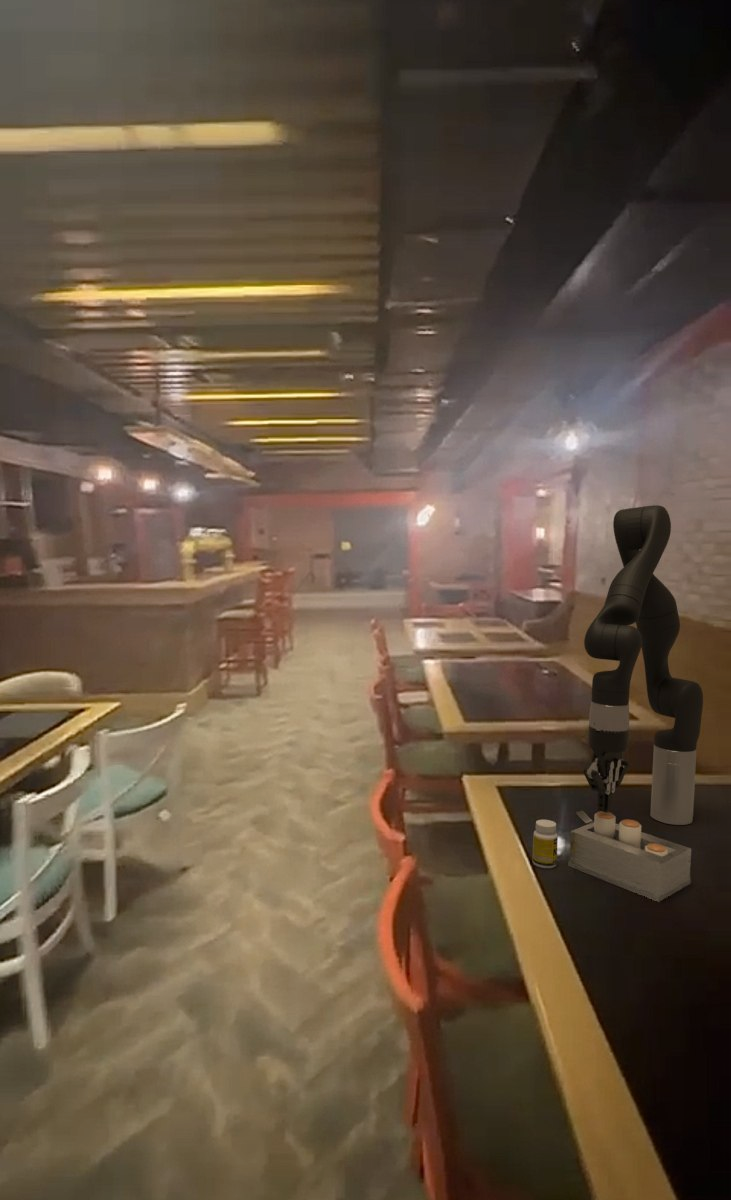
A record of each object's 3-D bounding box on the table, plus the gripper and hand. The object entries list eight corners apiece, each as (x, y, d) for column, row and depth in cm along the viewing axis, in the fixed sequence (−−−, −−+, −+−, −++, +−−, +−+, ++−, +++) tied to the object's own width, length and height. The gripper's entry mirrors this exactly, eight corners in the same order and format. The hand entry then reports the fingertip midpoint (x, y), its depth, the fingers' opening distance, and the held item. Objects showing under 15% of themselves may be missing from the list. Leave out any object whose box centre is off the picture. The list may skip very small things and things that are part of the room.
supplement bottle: (557, 870, 145) (558, 828, 144) (532, 867, 146) (534, 826, 145) (555, 860, 150) (557, 819, 149) (532, 857, 151) (533, 817, 150)
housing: (601, 850, 155) (603, 818, 154) (690, 883, 140) (692, 847, 140) (568, 865, 147) (569, 831, 147) (658, 902, 133) (660, 864, 132)
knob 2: (625, 846, 146) (626, 817, 146) (643, 853, 143) (645, 823, 143) (614, 851, 144) (615, 821, 143) (632, 858, 141) (634, 828, 140)
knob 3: (650, 871, 142) (652, 840, 142) (670, 878, 139) (672, 847, 139) (639, 876, 140) (641, 845, 139) (659, 884, 137) (661, 853, 136)
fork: (637, 842, 160) (637, 833, 160) (575, 820, 173) (575, 812, 173) (644, 840, 162) (644, 831, 162) (582, 818, 174) (582, 809, 174)
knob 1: (600, 837, 150) (601, 809, 150) (618, 844, 147) (619, 814, 147) (589, 842, 148) (590, 813, 147) (607, 849, 145) (608, 819, 144)
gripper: (610, 717, 153) (606, 799, 154) (572, 725, 145) (568, 812, 146) (644, 724, 147) (639, 809, 148) (607, 733, 139) (602, 823, 140)
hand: (604, 810), depth 147 cm, fingers closed
